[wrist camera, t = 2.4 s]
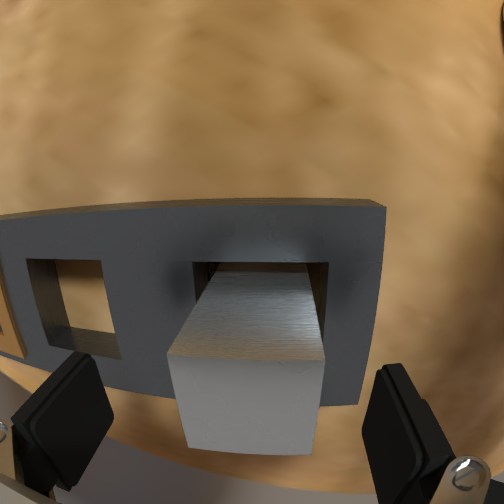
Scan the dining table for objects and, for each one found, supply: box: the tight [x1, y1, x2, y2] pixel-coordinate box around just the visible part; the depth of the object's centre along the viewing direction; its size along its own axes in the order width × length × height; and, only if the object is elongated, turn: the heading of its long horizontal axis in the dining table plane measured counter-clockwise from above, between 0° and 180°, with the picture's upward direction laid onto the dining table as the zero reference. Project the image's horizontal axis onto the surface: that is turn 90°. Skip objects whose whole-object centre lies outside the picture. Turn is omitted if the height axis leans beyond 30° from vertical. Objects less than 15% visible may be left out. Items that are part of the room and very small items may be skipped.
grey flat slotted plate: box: [0, 198, 386, 406], centre depth 15 cm, size 30×10×3 cm, turn 91°
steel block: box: [167, 262, 325, 455], centre depth 12 cm, size 4×4×8 cm
